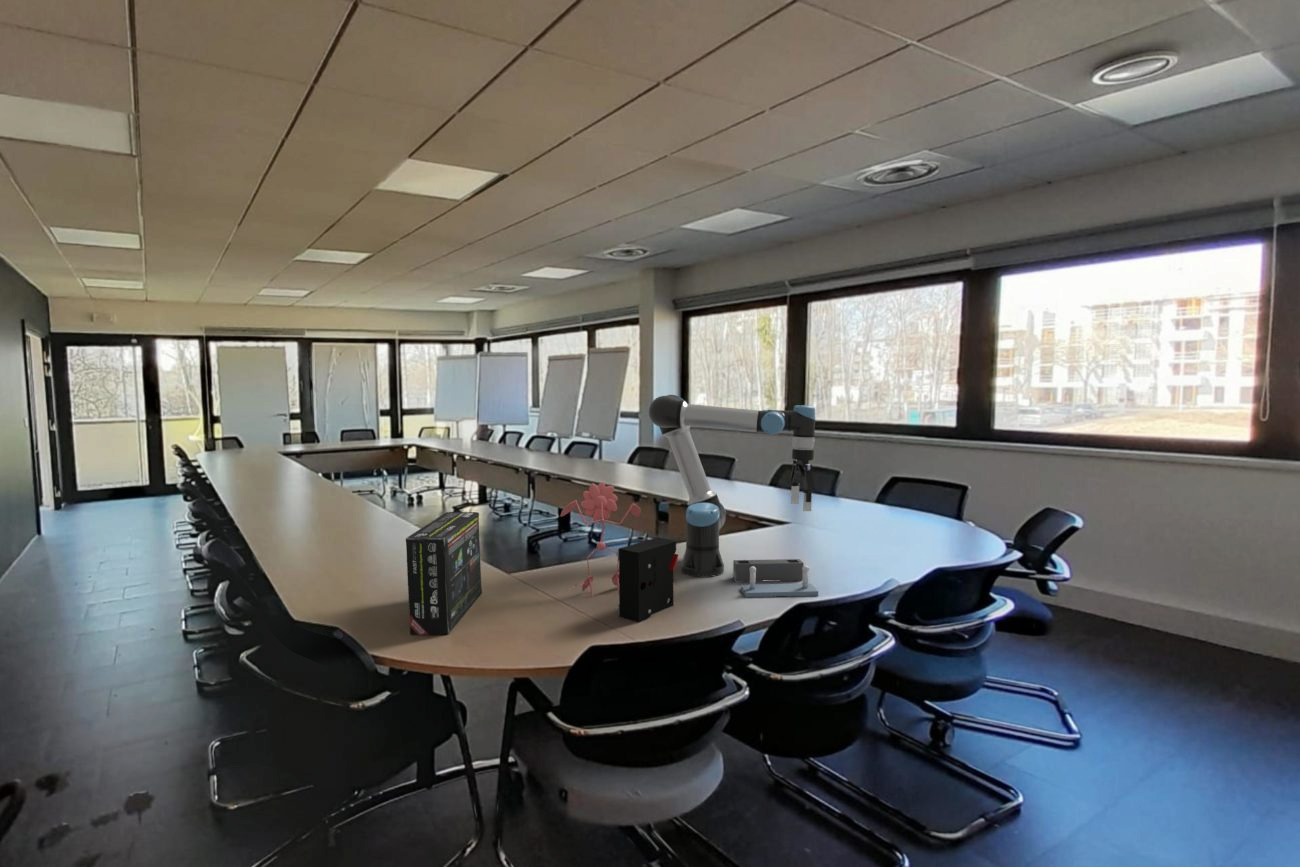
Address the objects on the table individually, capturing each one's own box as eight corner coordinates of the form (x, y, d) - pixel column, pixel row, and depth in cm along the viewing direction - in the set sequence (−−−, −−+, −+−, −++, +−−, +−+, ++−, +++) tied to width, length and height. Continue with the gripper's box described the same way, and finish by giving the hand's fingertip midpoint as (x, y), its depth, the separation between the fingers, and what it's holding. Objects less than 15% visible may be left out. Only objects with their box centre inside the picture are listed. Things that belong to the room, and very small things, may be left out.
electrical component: (652, 599, 208) (652, 536, 207) (678, 606, 202) (678, 541, 200) (613, 615, 195) (613, 547, 193) (640, 623, 188) (640, 552, 187)
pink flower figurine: (645, 590, 217) (644, 482, 215) (567, 600, 208) (564, 487, 206) (630, 578, 231) (628, 477, 229) (556, 587, 222) (554, 481, 220)
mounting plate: (745, 597, 210) (746, 570, 209) (740, 589, 218) (741, 563, 217) (818, 595, 211) (818, 568, 211) (810, 588, 219) (811, 561, 219)
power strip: (735, 581, 227) (736, 564, 226) (733, 577, 232) (733, 560, 231) (803, 580, 228) (803, 563, 227) (799, 576, 233) (799, 559, 232)
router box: (448, 593, 215) (445, 511, 213) (482, 593, 215) (480, 511, 213) (406, 636, 179) (403, 537, 177) (448, 636, 179) (445, 537, 177)
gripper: (825, 452, 229) (823, 514, 230) (801, 445, 253) (799, 500, 255) (804, 452, 228) (802, 514, 230) (782, 444, 253) (780, 500, 254)
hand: (800, 507), depth 242 cm, fingers open, 13 cm apart
